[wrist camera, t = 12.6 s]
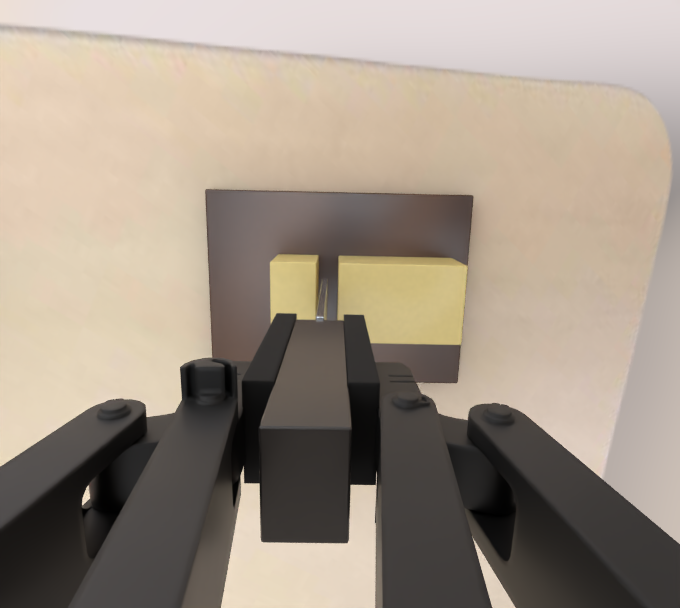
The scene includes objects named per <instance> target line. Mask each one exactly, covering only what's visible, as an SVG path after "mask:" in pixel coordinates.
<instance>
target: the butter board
mask: <svg viewBox="0 0 680 608" xmlns="http://www.w3.org/2000/svg"><path fill="white" fill-rule="evenodd" d="M205 194H206V217H207V241H208V264H209V287H210V311H211V334H212V358H225V359H229V360H232V361H252V360H253V358H254V356H255V354H256V352H257V350H258V348H259V346H260V344H261V342H262V340H263V339H264V337H265V335H266V333H267V331H268V329H269V327H270V325H271V309H270V262H271V261H272V260H273V259H274V258H275V257H276V256H277V255H278V254H293V255H319V285H318V301H319V295H320V289H321V283H322V279H328V296H327V320H337V301H338V257H339V256H385V257H432V258H453V259H455V260H457V261H459V262H461V263H462V264H464V265H466V266H468V254H469V242H470V230H471V219H472V207H473V196H472V195H430V194H387V193H343V192H299V191H255V190H212V189H206V190H205ZM371 347H372V351H373V355H374V359H375V362H386V363H402V364H404V365H405V366H407V367H408V368H410V370H411V372H412V374H413V377H414V379H415V381H416V382H423V383H457V382H458V371H459V359H460V348H461V345H434V344H382V343H371Z"/></svg>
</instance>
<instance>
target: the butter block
mask: <svg viewBox="0 0 680 608" xmlns="http://www.w3.org/2000/svg"><path fill="white" fill-rule="evenodd" d="M467 271H468V266H466V265H464V264H462V263H461V262H459V261H457V260H455V259H453V258H432V257H385V256H339V257H338V301H337V320H343V321H344V314H348V315H364V318H365V322H366V326H367V330H368V334H369V338H370V343H382V344H434V345H461V341H462V329H463V317H464V306H465V294H466V282H467Z"/></svg>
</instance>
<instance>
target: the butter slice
mask: <svg viewBox="0 0 680 608" xmlns="http://www.w3.org/2000/svg"><path fill="white" fill-rule="evenodd" d="M318 285H319V255H293V254H278V255H277V256H276V257H275V258H274V259H273V260H272V261H271V262H270V309H271V323H272V321H273V319H274V317H275V315H276V313H296V314H297V319H299V320H316V313H317V307H318Z"/></svg>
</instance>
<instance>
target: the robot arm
mask: <svg viewBox="0 0 680 608" xmlns="http://www.w3.org/2000/svg"><path fill="white" fill-rule="evenodd" d="M296 319H297V314H296V313H276V315H275V317H274V319H273V321H272V323H271V325H270V327H269V329H268V331H267V333H266V335H265V337H264V339H263V340H262V342H261V344H260V346H259V348H258V350H257V352H256V354H255V356H254V358H253V360H252V361H232V360H229V359H225V358H202V359H198V360H193V361H190V362H188V363H185V364H184V365H183V366H181V367H180V372H181V389H182V401H181V403H180V405H179V406H178V408H177V410H176V412H175V413H172V414H167V415H160V416H153V417H146V407H145V404H143V403H142V402H140V401H136V400H124V399H116V400H114V399H113V400H108V401H106V402H105V403H102V404H98V405H96V406H94V407H92V408H90V409H88V410H86V411H85V412H83V413H82V414H80V415H79V416H77V417H76V418H74V419H72V420H71V421H69V422H68V423H66V424H65V425H63V426H62V427H60V428H59V429H57V430H56V431H54V432H53V433H51V434H50V435H48V436H47V437H45V438H44V439H42V440H41V441H39V442H37V443H36V444H34V445H33V446H31V447H30V448H28V449H27V450H25V451H24V452H22V453H21V454H19V455H18V456H16V457H15V458H13V459H12V460H10V461H9V462H7V463H6V464H4V465H2V466H1V467H0V608H221V603H222V597H223V592H224V586H225V581H226V575H227V569H228V564H229V558H230V552H231V547H232V541H233V535H234V530H235V524H236V518H237V513H238V507H239V501H240V496H241V483H240V475H241V472H242V469H243V466H244V483H260V474H259V426H260V423H261V420H262V417H263V414H264V411H265V408H266V405H267V402H268V399H269V396H270V393H271V390H272V387H273V385H274V382H275V379H276V376H277V373H278V370H279V367H280V364H281V361H282V358H283V355H284V352H285V349H286V346H287V343H288V340H289V337H290V334H291V331H292V328H293V325H294V322H295V320H296ZM344 328H345V343H346V358H347V374H348V386H349V392H350V406H351V420H352V451H351V484H350V485H376V471H377V489H376V511H375V523H376V592H375V608H492V606H491V602H490V599H489V595H488V592H487V588H486V584H485V581H484V577H483V574H482V570H481V566H480V563H479V559H478V556H477V552H476V548H475V545H474V541H473V538H474V540H475V541H476V543H477V545H478V546H479V548H480V550H481V551H482V553H483V554H484V556H485V558H486V559H487V561H488V563H489V564H490V566H491V568H492V569H493V571H494V573H495V574H496V576H497V577H498V579H499V581H500V582H501V584H502V586H503V587H504V589H505V591H506V592H507V594H508V596H509V597H510V599H511V600H512V602H513V604H514V605H515V607H516V608H680V544H679V543H677V542H676V541H675V540H674V539H673V538H672V537H670V536H669V535H668V534H667V533H666V532H664V531H663V530H662V529H661V528H659V527H658V526H657V525H656V524H655V523H654V522H652V521H651V520H650V519H649V518H648V517H647V516H645V515H644V514H643V513H642V512H640V511H639V510H638V509H637V508H636V507H635V506H633V505H632V504H631V503H630V502H628V501H627V500H626V499H625V498H624V497H623V496H621V495H620V494H619V493H618V492H617V491H615V490H614V489H613V488H612V487H611V486H609V485H608V484H607V483H606V482H605V481H604V480H602V479H601V478H600V477H599V476H598V475H596V474H595V473H594V472H593V471H592V470H590V469H589V468H588V467H587V466H586V465H584V464H583V463H582V462H581V461H580V460H579V459H577V458H576V457H575V456H574V455H573V454H571V453H570V452H569V451H568V450H567V449H565V448H564V447H563V446H562V445H561V444H559V443H558V442H557V441H556V440H555V439H553V438H552V437H551V436H550V435H549V434H548V433H546V432H545V431H544V430H543V429H542V428H540V427H539V426H538V425H537V424H536V423H534V422H533V421H532V420H531V419H530V418H528V417H527V416H526V415H525V414H523V413H521V412H520V411H518V410H516V409H513V408H510V407H509V406H507V405H503V404H501V405H500V404H498V403H492V404H481V405H476V406H474V407H472V408H470V411H469V416H468V420H463V419H457V418H452V417H448V416H444V415H441V414H438V412H437V409H436V405H435V403H434V401H433V400H432V399H431V398H429V397H428V396H426V395H423V394H421V393H420V390H419V388H418V386H417V384H416V381H415V379H414V377H413V374H412V372H411V370H410V368H408V367H407V366H405V365H404V364H402V363H386V362H375V359H374V355H373V351H372V347H371V343H370V338H369V334H368V330H367V326H366V322H365V318H364V315H348V314H344ZM88 485H89V491H90V499H89V500H88V501H87V502H86V503H85V504H84V505H83V506H82V498H83V495H84V492H85V490H86V487H87V486H88ZM472 536H473V538H472Z"/></svg>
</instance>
